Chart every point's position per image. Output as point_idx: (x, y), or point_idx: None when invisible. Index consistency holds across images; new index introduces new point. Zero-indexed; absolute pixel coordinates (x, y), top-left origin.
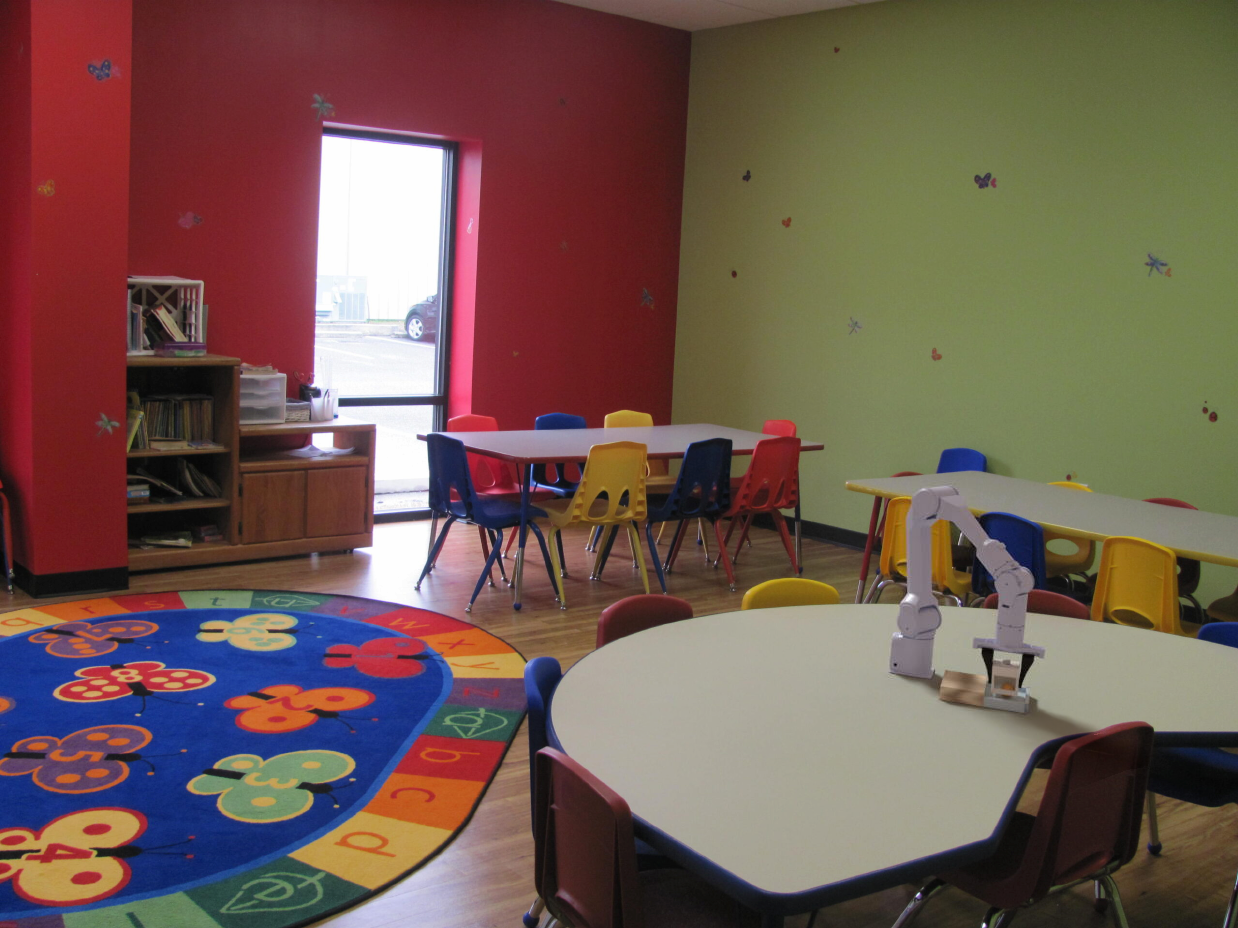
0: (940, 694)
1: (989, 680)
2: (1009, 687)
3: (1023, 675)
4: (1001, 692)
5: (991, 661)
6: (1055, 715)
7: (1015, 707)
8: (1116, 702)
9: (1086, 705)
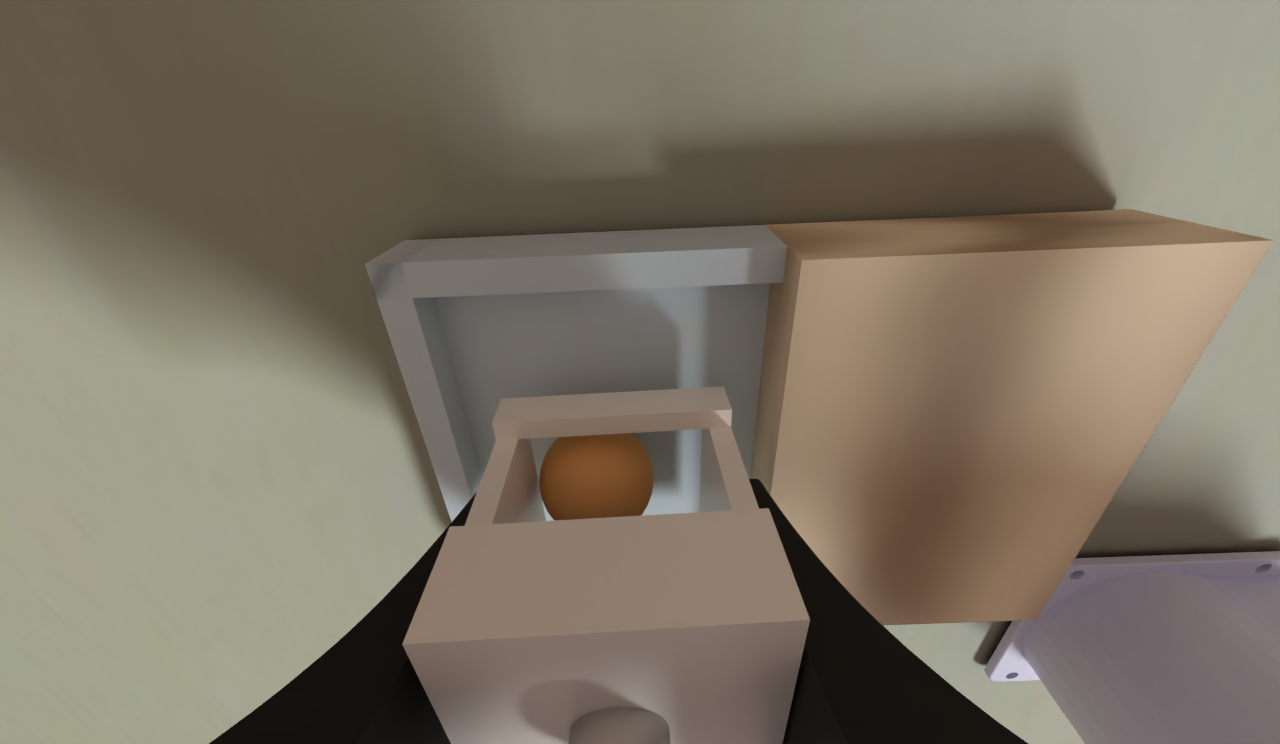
0: (1168, 218)
1: (760, 495)
2: (575, 474)
3: (406, 591)
4: (635, 398)
5: (847, 700)
6: (242, 331)
7: (498, 246)
8: (121, 654)
9: (198, 570)
